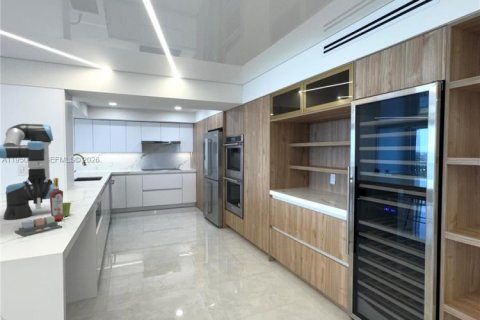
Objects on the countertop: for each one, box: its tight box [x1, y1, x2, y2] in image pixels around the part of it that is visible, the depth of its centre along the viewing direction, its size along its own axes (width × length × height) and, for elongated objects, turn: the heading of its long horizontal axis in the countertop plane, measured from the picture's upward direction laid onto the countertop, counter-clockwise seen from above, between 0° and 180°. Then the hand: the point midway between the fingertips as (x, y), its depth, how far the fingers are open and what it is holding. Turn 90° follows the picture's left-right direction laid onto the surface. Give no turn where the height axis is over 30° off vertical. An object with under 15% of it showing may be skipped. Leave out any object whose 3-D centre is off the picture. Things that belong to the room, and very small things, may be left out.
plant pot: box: [63, 202, 72, 218], centre depth 178 cm, size 9×9×9 cm
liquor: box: [49, 177, 64, 222], centre depth 166 cm, size 7×7×28 cm
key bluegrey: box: [21, 220, 34, 229], centre depth 143 cm, size 4×4×3 cm
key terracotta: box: [32, 217, 45, 226], centre depth 147 cm, size 4×4×3 cm
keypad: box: [14, 221, 63, 237], centre depth 148 cm, size 13×18×3 cm
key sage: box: [43, 215, 55, 224], centre depth 152 cm, size 4×4×3 cm
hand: (38, 209), depth 147 cm, fingers closed
